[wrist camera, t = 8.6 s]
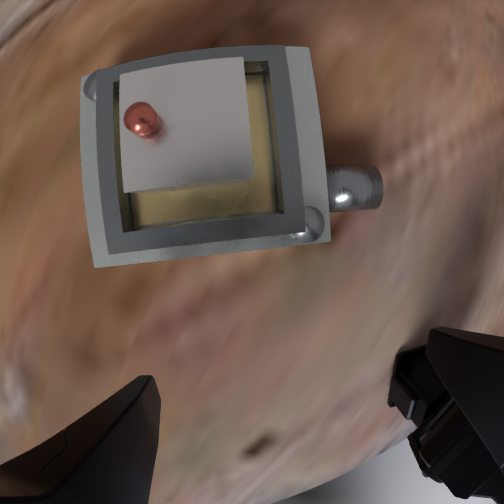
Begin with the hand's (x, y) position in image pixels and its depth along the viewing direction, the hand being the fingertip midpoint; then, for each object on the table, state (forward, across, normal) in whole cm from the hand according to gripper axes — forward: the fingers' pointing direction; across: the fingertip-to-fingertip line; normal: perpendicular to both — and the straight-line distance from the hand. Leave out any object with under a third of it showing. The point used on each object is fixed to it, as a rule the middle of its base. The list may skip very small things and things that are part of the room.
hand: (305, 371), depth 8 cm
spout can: (+9, +3, -8) cm, 12 cm away
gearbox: (+13, +1, -8) cm, 15 cm away
